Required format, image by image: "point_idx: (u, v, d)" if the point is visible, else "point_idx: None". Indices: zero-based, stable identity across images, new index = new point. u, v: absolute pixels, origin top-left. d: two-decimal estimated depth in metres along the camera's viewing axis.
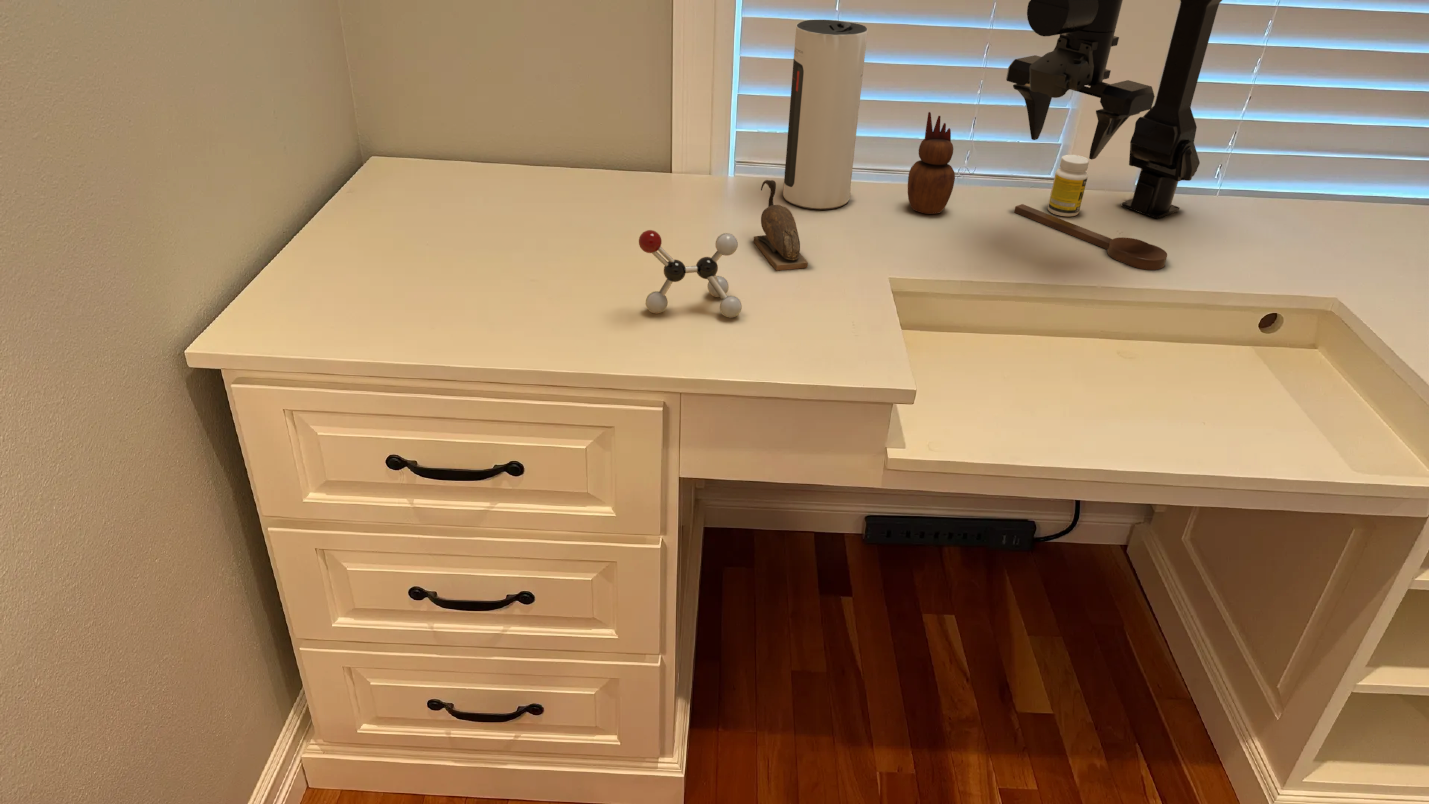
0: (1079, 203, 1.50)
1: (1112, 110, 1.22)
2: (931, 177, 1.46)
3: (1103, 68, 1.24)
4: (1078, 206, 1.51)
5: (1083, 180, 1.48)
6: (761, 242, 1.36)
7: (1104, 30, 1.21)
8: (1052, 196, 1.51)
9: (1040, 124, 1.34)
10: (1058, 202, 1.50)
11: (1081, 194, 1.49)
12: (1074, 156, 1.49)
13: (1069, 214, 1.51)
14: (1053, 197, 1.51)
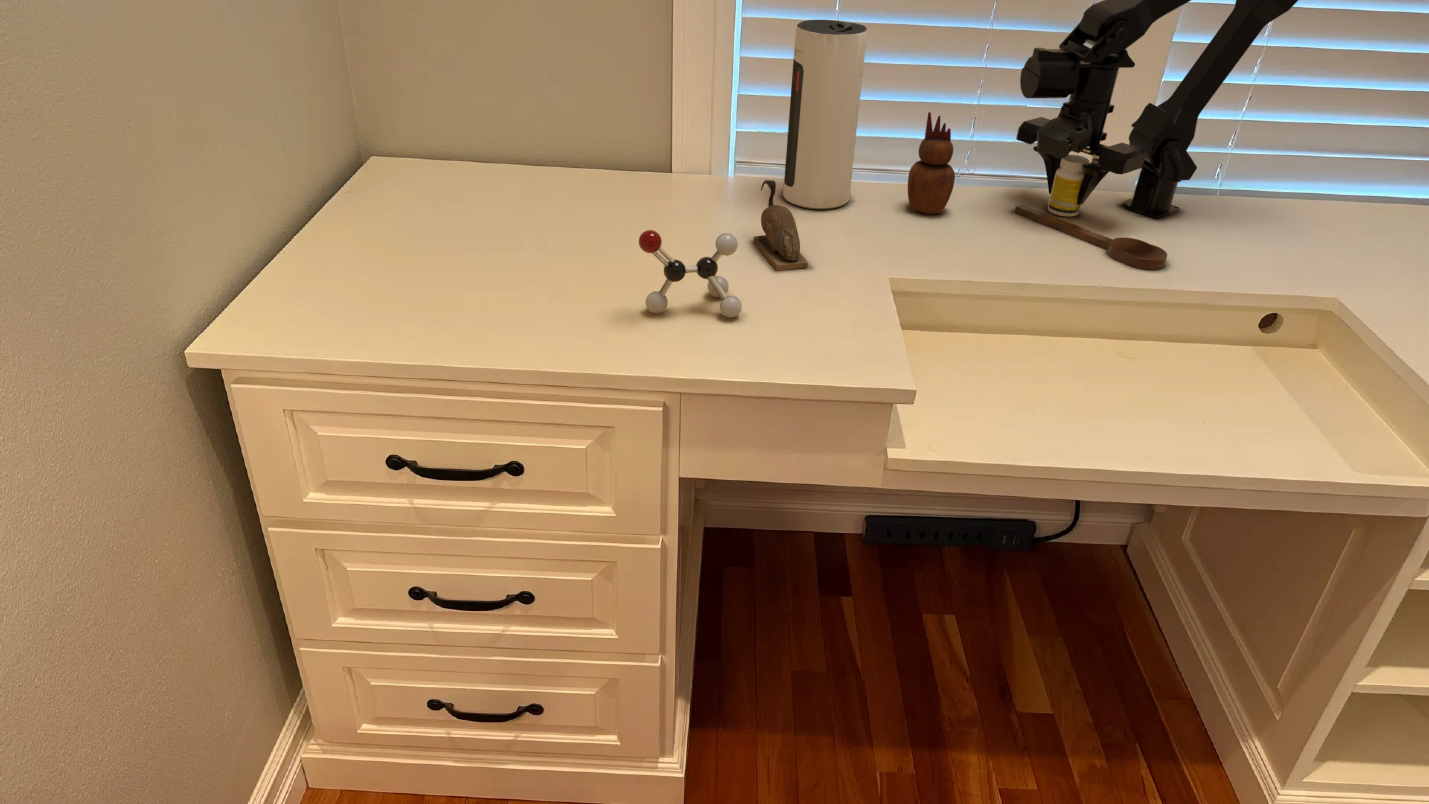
0: None
1: (1108, 169, 1.41)
2: (931, 177, 1.46)
3: (1100, 132, 1.44)
4: (1078, 206, 1.51)
5: None
6: (761, 242, 1.36)
7: (1092, 100, 1.41)
8: (1052, 196, 1.51)
9: None
10: (1058, 202, 1.50)
11: None
12: (1074, 156, 1.49)
13: (1069, 214, 1.51)
14: (1053, 197, 1.51)
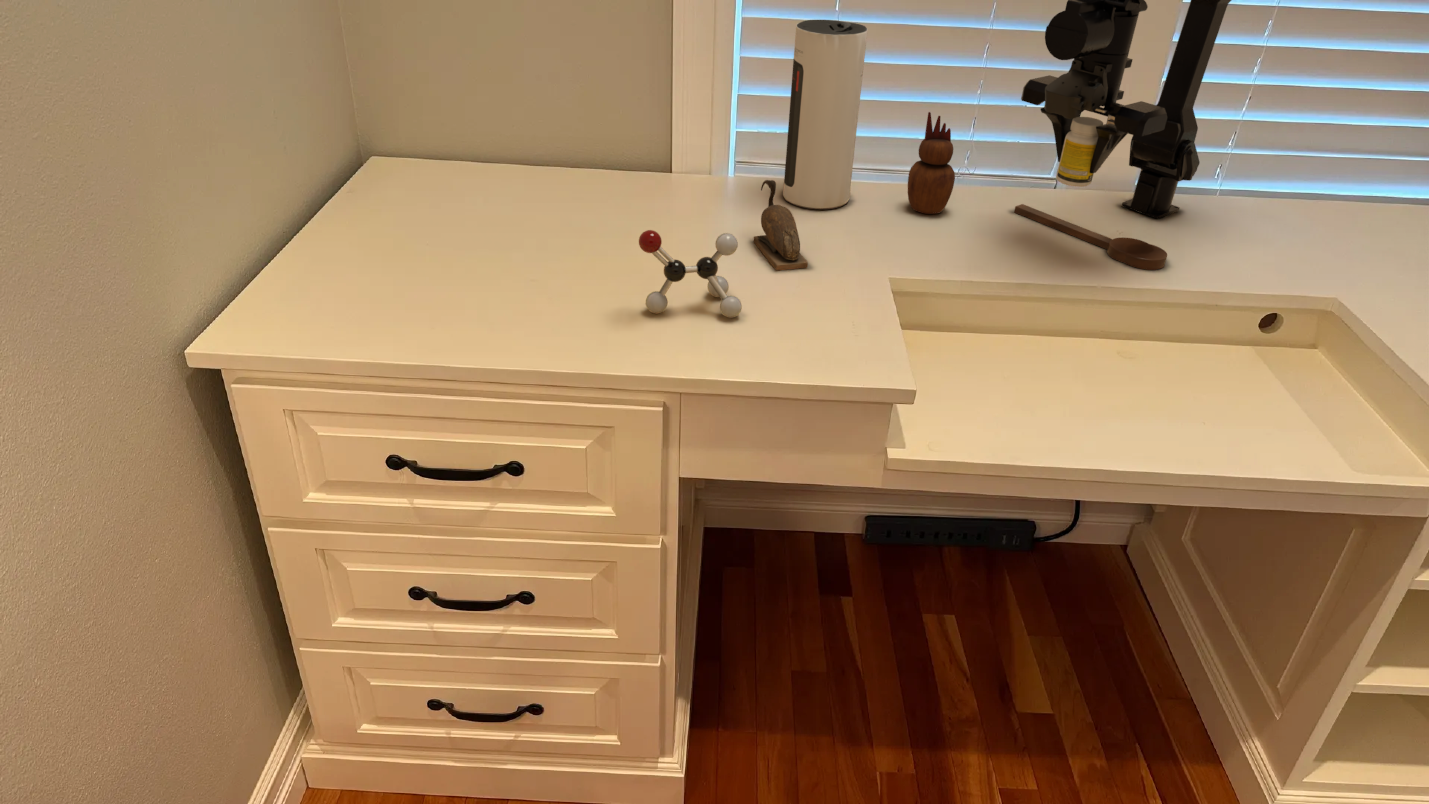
0: None
1: (1126, 131, 1.24)
2: (931, 177, 1.46)
3: (1117, 89, 1.27)
4: (1091, 175, 1.34)
5: None
6: (761, 242, 1.36)
7: (1119, 53, 1.24)
8: (1061, 163, 1.34)
9: None
10: (1068, 170, 1.33)
11: None
12: (1086, 118, 1.32)
13: (1080, 184, 1.34)
14: (1062, 164, 1.34)
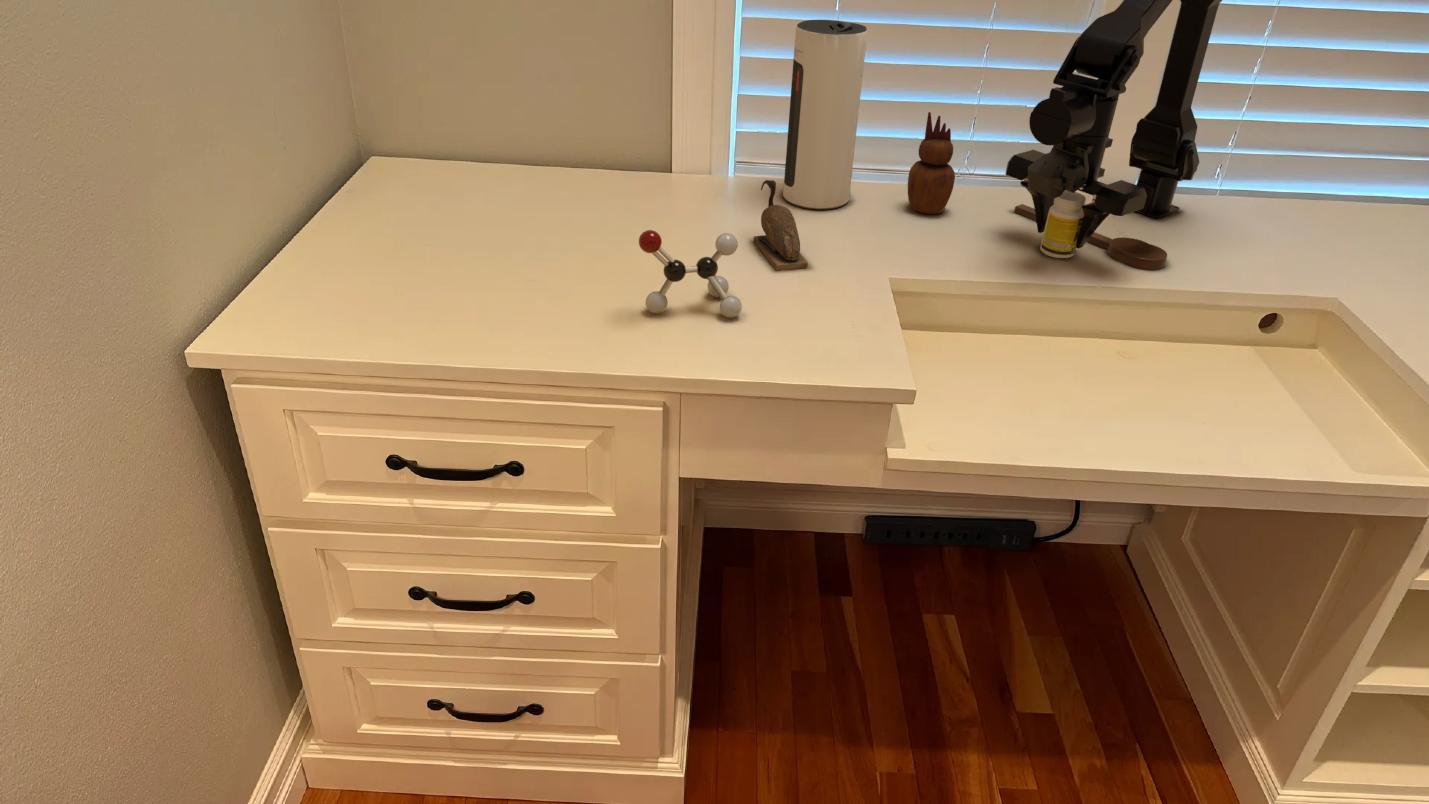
0: (1075, 244, 1.37)
1: (1106, 210, 1.28)
2: (931, 177, 1.46)
3: (1097, 168, 1.31)
4: (1074, 247, 1.37)
5: (1079, 219, 1.35)
6: (761, 242, 1.36)
7: (1100, 135, 1.28)
8: (1045, 236, 1.38)
9: (1046, 218, 1.40)
10: (1052, 242, 1.37)
11: (1076, 234, 1.36)
12: (1069, 192, 1.36)
13: (1064, 256, 1.37)
14: (1046, 237, 1.38)
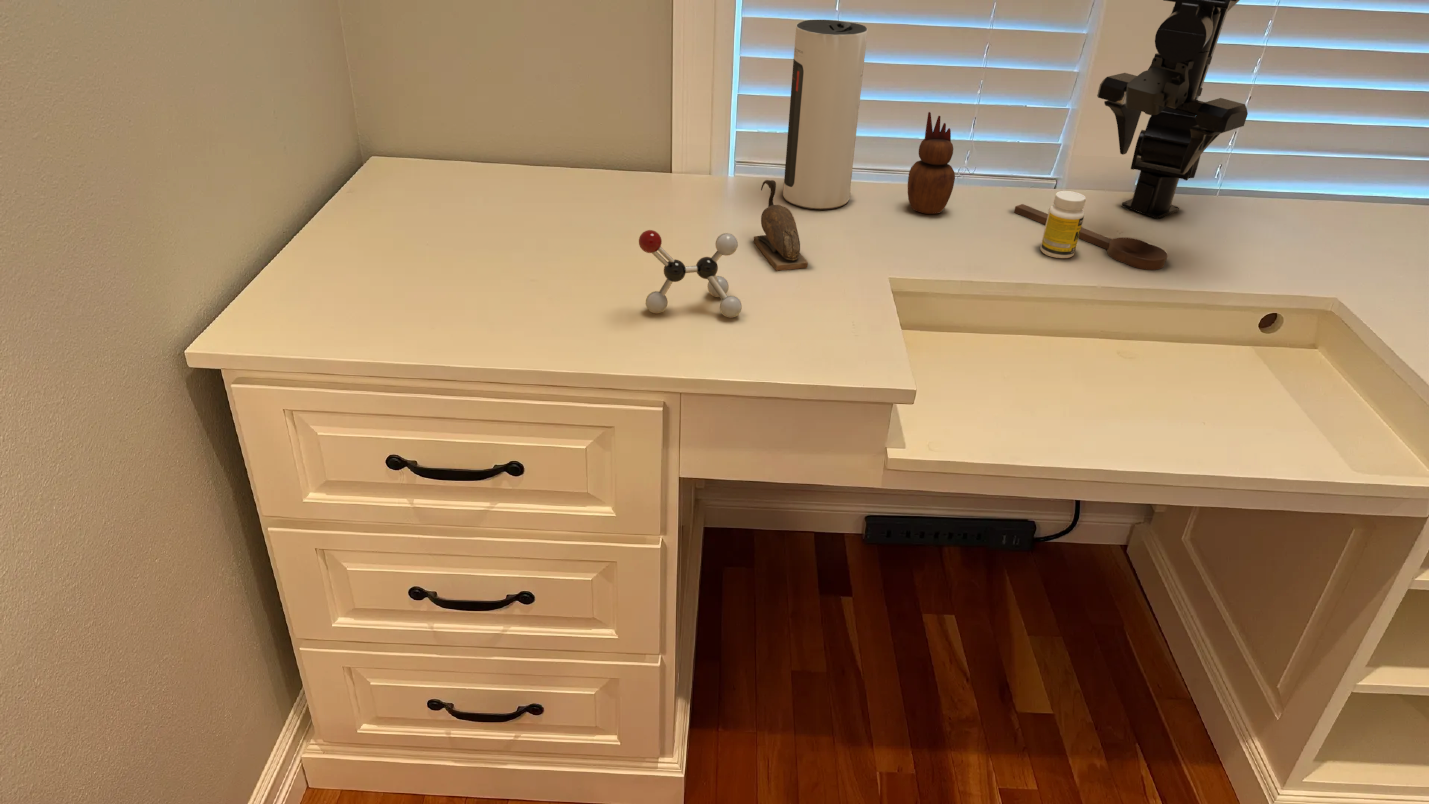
0: (1075, 244, 1.37)
1: (1207, 127, 1.26)
2: (931, 177, 1.46)
3: (1196, 86, 1.29)
4: (1074, 247, 1.37)
5: (1079, 219, 1.35)
6: (761, 242, 1.36)
7: (1206, 49, 1.26)
8: (1045, 236, 1.38)
9: (1129, 139, 1.39)
10: (1052, 242, 1.37)
11: (1076, 234, 1.36)
12: (1069, 192, 1.36)
13: (1064, 256, 1.37)
14: (1046, 237, 1.38)
